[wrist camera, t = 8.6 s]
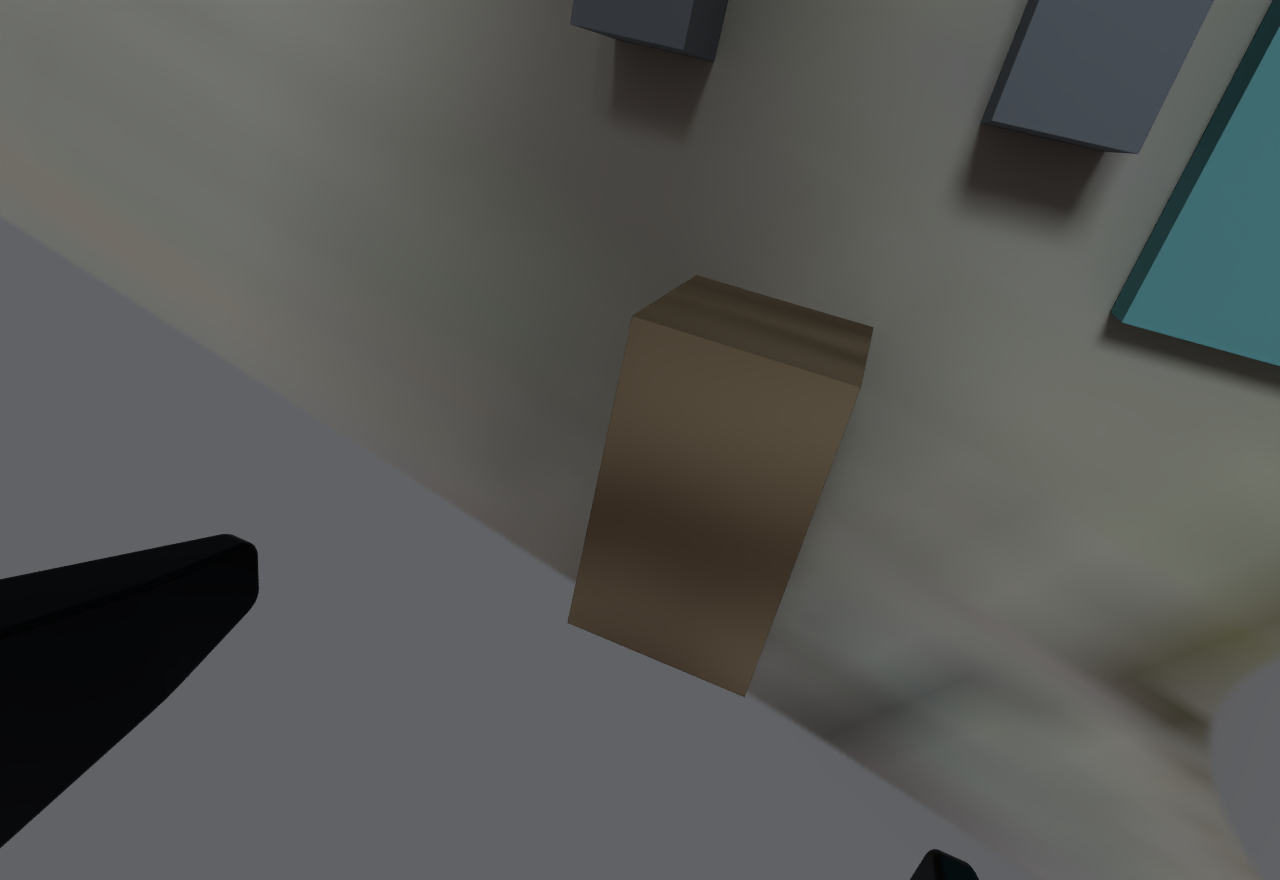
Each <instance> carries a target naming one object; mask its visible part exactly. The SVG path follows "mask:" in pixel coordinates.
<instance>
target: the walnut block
mask: <svg viewBox="0 0 1280 880" xmlns="http://www.w3.org/2000/svg"><path fill="white" fill-rule="evenodd" d="M872 332H873V327H870V326H867V325H863V324H860V323H856V322H853V321H850V320H846V319H843V318H839V317H836V316H833V315H829V314H826V313H823V312H819V311H816V310H812V309H809V308H806V307H802V306H799V305H795V304H792V303H789V302H785V301H782V300H778V299H775V298H772V297H768V296H765V295H761V294H758V293H755V292H751V291H748V290H744V289H741V288H738V287H734V286H731V285H727V284H724V283H721V282H717V281H714V280H710V279H707V278H704V277H700V276H697V275H696V276H695V277H693V278H691V279H690V280H688V281H687V282H685V283H683V284H682V285H680V286H679V287H677V288H676V289H674V290H672V291H671V292H669V293H668V294H666V295H665V296H663V297H661V298H660V299H658V300H657V301H655V302H654V303H652V304H650V305H649V306H647V307H646V308H644V309H643V310H641V311H639V312H638V313H636V314H635V315H633V316H632V319H631V324H630V329H629V334H628V338H627V343H626V348H625V353H624V357H623V362H622V367H621V372H620V376H619V381H618V386H617V391H616V395H615V400H614V405H613V410H612V414H611V419H610V424H609V429H608V433H607V438H606V443H605V447H604V452H603V457H602V462H601V466H600V471H599V476H598V481H597V485H596V490H595V495H594V500H593V504H592V509H591V514H590V519H589V523H588V528H587V533H586V538H585V542H584V547H583V552H582V556H581V561H580V566H579V571H578V575H577V580H576V585H575V590H574V595H573V599H572V604H571V609H570V614H569V618H568V623H569V624H572V625H574V626H576V627H579V628H581V629H584V630H586V631H588V632H591V633H593V634H596V635H598V636H600V637H603V638H605V639H607V640H610V641H612V642H615V643H617V644H619V645H622V646H624V647H627V648H629V649H631V650H634V651H636V652H638V653H641V654H643V655H646V656H648V657H650V658H653V659H655V660H658V661H660V662H662V663H665V664H667V665H670V666H672V667H674V668H677V669H679V670H681V671H684V672H686V673H688V674H691V675H693V676H696V677H698V678H700V679H703V680H705V681H707V682H710V683H712V684H715V685H717V686H719V687H722V688H724V689H727V690H729V691H731V692H734V693H736V694H738V695H741V696H743V697H745V695H746V692H747V689H748V687H749V684H750V681H751V679H752V676H753V673H754V671H755V668H756V665H757V663H758V660H759V657H760V655H761V652H762V649H763V647H764V644H765V641H766V639H767V636H768V633H769V631H770V628H771V625H772V623H773V620H774V617H775V615H776V612H777V609H778V607H779V604H780V601H781V599H782V596H783V593H784V591H785V588H786V585H787V583H788V580H789V577H790V575H791V572H792V569H793V567H794V564H795V561H796V559H797V556H798V553H799V551H800V548H801V545H802V543H803V540H804V537H805V535H806V532H807V529H808V527H809V524H810V521H811V519H812V516H813V513H814V511H815V508H816V505H817V503H818V500H819V497H820V495H821V492H822V489H823V487H824V484H825V481H826V479H827V476H828V473H829V471H830V468H831V465H832V463H833V460H834V457H835V455H836V452H837V449H838V447H839V444H840V442H841V439H842V436H843V434H844V431H845V428H846V426H847V423H848V420H849V418H850V415H851V412H852V410H853V407H854V404H855V402H856V399H857V396H858V394H859V391H860V388H861V384H862V379H863V375H864V370H865V365H866V360H867V356H868V351H869V346H870V342H871V337H872Z"/></svg>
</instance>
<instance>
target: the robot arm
mask: <svg viewBox="0 0 1280 880" xmlns="http://www.w3.org/2000/svg"><path fill="white" fill-rule="evenodd" d="M258 593H259V580H258V553H257V550H256V548H255V546H254V545H253V544H252V543H250V542H247V541H245V540H243V539H241V538H239V537H236V536H234V535H230V534H221V535H216V536H211V537H206V538H201V539H197V540H191V541H187V542H181V543H177V544H172V545H167V546H162V547H157V548H152V549H147V550H143V551H138V552H132V553H127V554H122V555H118V556H113V557H108V558H103V559H98V560H93V561H88V562H84V563H78V564H74V565H69V566H64V567H59V568H54V569H49V570H44V571H39V572H34V573H30V574H25V575H19V576H15V577H10V578H4V579H0V848H1V847H2V846H3V845H4V844H5V843H6V842H8V841H9V840H10V839H11V838H12V837H13V836H14V835H15V834H17V833H18V832H19V831H20V830H21V829H22V828H23V827H24V826H25V825H27V824H28V823H29V822H30V821H31V820H32V819H33V818H34V817H36V816H37V815H38V814H39V813H40V812H41V811H42V810H43V809H44V808H45V807H47V806H48V805H49V804H50V803H51V802H52V801H53V800H54V799H56V798H57V797H58V796H59V795H60V794H61V793H62V792H63V791H65V790H66V789H67V788H68V787H69V786H70V785H71V784H72V783H73V782H75V781H76V780H77V779H78V778H79V777H80V776H81V775H82V774H83V773H84V772H86V771H87V770H88V769H89V768H90V767H91V766H92V765H93V764H95V763H96V762H97V761H98V760H99V759H100V758H101V757H102V756H103V755H105V754H106V753H107V752H108V751H109V750H110V749H111V748H112V747H113V746H115V745H116V744H117V743H118V742H119V741H120V740H121V739H123V737H125V736H126V735H127V734H128V733H129V732H130V731H131V730H133V729H134V728H135V727H136V726H137V725H138V724H139V723H140V722H141V721H143V720H144V719H145V718H146V717H147V716H148V715H149V714H150V713H151V712H153V710H155V709H156V708H157V707H158V706H159V705H160V704H161V703H162V702H163V701H164V700H165V699H166V698H167V697H168V696H169V695H170V694H171V693H172V692H173V691H174V690H175V689H176V688H177V687H178V686H179V685H180V684H181V683H182V682H183V681H184V680H185V679H186V678H187V677H188V676H189V675H190V673H191V672H192V671H193V670H194V669H195V668H196V667H197V666H198V665H199V664H200V663H201V662H202V661H203V660H204V658H206V656H207V655H208V654H209V653H210V652H211V651H212V650H213V649H214V648H215V647H216V646H217V644H219V643H220V641H221V640H222V639H223V638H224V637H225V636H226V635H227V634H228V633H229V632H230V631H231V630H232V629H233V628H234V626H235V625H236V624H237V623H238V622H239V621H240V620H241V619H242V618H243V617H244V616H245V615H246V614H247V613H248V611H249V610H250V609H251V607H252V606H253V605H254V603H255V601H256V599H257V596H258ZM910 880H979V879H978V877H977V875H976V873H975V871H974V870H973V868H972V867H971V866H970V865H969V864H968V863H966V862H964V861H962V860H960V859H958V858H956V857H953V856H951V855H949V854H947V853H944V852H942V851H940V850H937V849H933V850H930V851H929V852H928V853H927V854H926V855H925V857H924V858H923V860H922V861H921V863H920V865H919V866H918V868H917V869H916V871H915V873H914V874H913V876H912V877H911V879H910Z"/></svg>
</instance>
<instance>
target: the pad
mask: <svg viewBox="0 0 1280 880" xmlns="http://www.w3.org/2000/svg"><path fill="white" fill-rule="evenodd" d="M1111 313H1112V314H1113V315H1114V316H1115V317H1116V318H1117V319H1118V320H1120V321H1121V322H1122V323H1126V324H1129V325H1133V326H1136V327H1140V328H1144V329H1147V330H1151V331H1154V332H1158V333H1162V334H1165V335H1169V336H1173V337H1176V338H1180V339H1183V340H1187V341H1191V342H1194V343H1198V344H1202V345H1205V346H1209V347H1212V348H1216V349H1220V350H1223V351H1227V352H1230V353H1234V354H1238V355H1241V356H1245V357H1249V358H1252V359H1256V360H1259V361H1263V362H1267V363H1270V364H1274V365H1277V366H1280V0H1273V2H1272V4H1271V6H1270V8H1269V10H1268V12H1267V14H1266V16H1265V17H1264V19H1263V21H1262V23H1261V25H1260V27H1259V29H1258V31H1257V33H1256V35H1255V37H1254V38H1253V40H1252V42H1251V44H1250V46H1249V48H1248V50H1247V52H1246V54H1245V56H1244V58H1243V60H1242V61H1241V63H1240V65H1239V67H1238V69H1237V71H1236V73H1235V75H1234V77H1233V79H1232V81H1231V82H1230V84H1229V86H1228V88H1227V90H1226V92H1225V94H1224V96H1223V98H1222V100H1221V102H1220V104H1219V105H1218V107H1217V109H1216V111H1215V113H1214V115H1213V117H1212V119H1211V121H1210V123H1209V125H1208V127H1207V128H1206V130H1205V132H1204V134H1203V136H1202V138H1201V140H1200V142H1199V144H1198V146H1197V148H1196V149H1195V151H1194V153H1193V155H1192V157H1191V159H1190V161H1189V163H1188V165H1187V167H1186V169H1185V171H1184V172H1183V174H1182V176H1181V178H1180V180H1179V182H1178V184H1177V186H1176V188H1175V190H1174V192H1173V193H1172V195H1171V197H1170V199H1169V201H1168V203H1167V205H1166V207H1165V209H1164V211H1163V213H1162V215H1161V216H1160V218H1159V220H1158V222H1157V224H1156V226H1155V228H1154V230H1153V232H1152V234H1151V236H1150V237H1149V239H1148V241H1147V243H1146V245H1145V247H1144V249H1143V251H1142V253H1141V255H1140V257H1139V259H1138V260H1137V262H1136V264H1135V266H1134V268H1133V270H1132V272H1131V274H1130V276H1129V278H1128V280H1127V282H1126V283H1125V285H1124V287H1123V289H1122V291H1121V293H1120V295H1119V297H1118V299H1117V301H1116V303H1115V304H1114V306H1113V308H1112V310H1111Z"/></svg>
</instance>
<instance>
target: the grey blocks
mask: <svg viewBox="0 0 1280 880" xmlns="http://www.w3.org/2000/svg"><path fill="white" fill-rule="evenodd" d="M1213 1H1214V0H1029V1H1028V3H1027V6H1026V8H1025V11H1024V13H1023V16H1022V19H1021V21H1020V24H1019V26H1018V29H1017V31H1016V34H1015V36H1014V39H1013V42H1012V44H1011V47H1010V49H1009V52H1008V54H1007V57H1006V59H1005V62H1004V65H1003V67H1002V70H1001V72H1000V75H999V77H998V80H997V82H996V85H995V88H994V90H993V93H992V95H991V98H990V100H989V103H988V105H987V108H986V111H985V113H984V116H983V118H982V121H981V123H984V124H988V125H993V126H997V127H1001V128H1006V129H1010V130H1014V131H1019V132H1023V133H1027V134H1032V135H1036V136H1040V137H1045V138H1049V139H1053V140H1058V141H1062V142H1067V143H1071V144H1075V145H1080V146H1084V147H1088V148H1093V149H1097V150H1101V151H1106V152H1119V153H1132V154H1139V152H1140V150H1141V148H1142V146H1143V143H1144V141H1145V139H1146V137H1147V135H1148V133H1149V131H1150V129H1151V127H1152V125H1153V123H1154V121H1155V119H1156V117H1157V115H1158V113H1159V111H1160V109H1161V107H1162V105H1163V103H1164V101H1165V99H1166V97H1167V95H1168V93H1169V90H1170V88H1171V86H1172V84H1173V82H1174V80H1175V78H1176V76H1177V74H1178V72H1179V70H1180V68H1181V66H1182V64H1183V62H1184V60H1185V58H1186V56H1187V54H1188V52H1189V50H1190V48H1191V46H1192V44H1193V42H1194V39H1195V37H1196V35H1197V33H1198V31H1199V29H1200V27H1201V25H1202V23H1203V21H1204V19H1205V17H1206V15H1207V13H1208V11H1209V9H1210V7H1211V5H1212V3H1213ZM727 2H728V0H574V4H573V10H572V17H571V24H572V25H575V26H578V27H581V28H584V29H587V30H590V31H593V32H596V33H599V34H602V35H605V36H608V37H611V38H614V39H619V40H623V41H627V42H632V43H636V44H640V45H645V46H649V47H653V48H658V49H662V50H667V51H671V52H675V53H680V54H684V55H688V56H693V57H697V58H701V59H706V60H710V61H714V58H715V54H716V50H717V45H718V41H719V36H720V32H721V28H722V23H723V19H724V15H725V10H726V6H727Z"/></svg>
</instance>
